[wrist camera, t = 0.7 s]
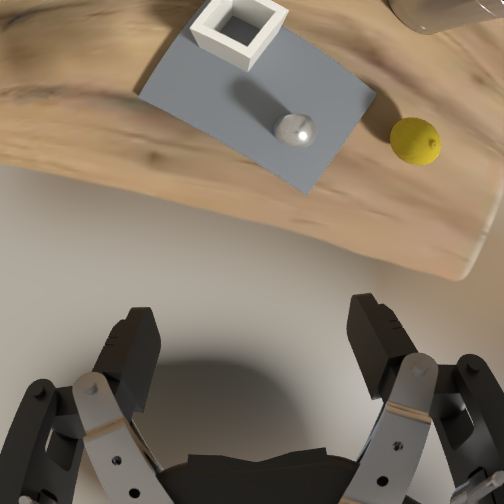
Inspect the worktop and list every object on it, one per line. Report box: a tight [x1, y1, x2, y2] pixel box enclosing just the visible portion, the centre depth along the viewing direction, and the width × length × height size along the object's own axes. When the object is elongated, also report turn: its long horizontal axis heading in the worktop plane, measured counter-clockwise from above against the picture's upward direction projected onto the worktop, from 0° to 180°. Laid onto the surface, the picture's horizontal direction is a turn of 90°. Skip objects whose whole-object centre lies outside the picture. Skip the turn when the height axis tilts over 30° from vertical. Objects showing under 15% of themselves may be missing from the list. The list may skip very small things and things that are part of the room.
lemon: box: [390, 118, 441, 165], centre depth 27 cm, size 6×6×8 cm
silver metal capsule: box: [273, 113, 317, 149], centre depth 26 cm, size 3×3×6 cm
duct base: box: [138, 0, 377, 196], centre depth 27 cm, size 15×22×2 cm
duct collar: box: [190, 0, 289, 73], centre depth 21 cm, size 6×6×7 cm
